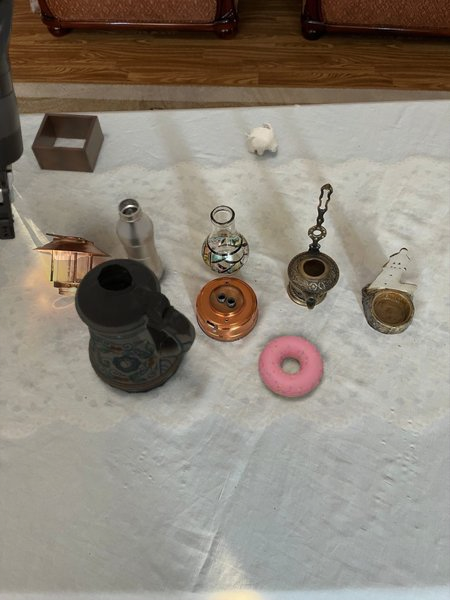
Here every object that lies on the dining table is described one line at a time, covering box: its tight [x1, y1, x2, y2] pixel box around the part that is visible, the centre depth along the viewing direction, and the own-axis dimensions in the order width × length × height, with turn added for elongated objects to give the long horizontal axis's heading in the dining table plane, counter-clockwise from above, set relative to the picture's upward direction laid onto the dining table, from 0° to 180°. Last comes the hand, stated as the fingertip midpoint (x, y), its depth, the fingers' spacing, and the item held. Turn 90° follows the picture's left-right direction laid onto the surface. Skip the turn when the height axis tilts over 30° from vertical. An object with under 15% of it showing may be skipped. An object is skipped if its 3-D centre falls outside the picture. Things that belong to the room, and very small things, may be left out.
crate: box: [30, 112, 105, 174], centre depth 114 cm, size 12×11×8 cm
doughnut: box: [257, 335, 324, 398], centre depth 88 cm, size 11×11×4 cm
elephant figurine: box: [244, 122, 279, 156], centre depth 114 cm, size 7×8×6 cm
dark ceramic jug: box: [74, 258, 197, 394], centre depth 82 cm, size 16×19×25 cm
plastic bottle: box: [115, 197, 164, 281], centre depth 92 cm, size 6×7×20 cm
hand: (5, 218), depth 78 cm, fingers open, 8 cm apart
